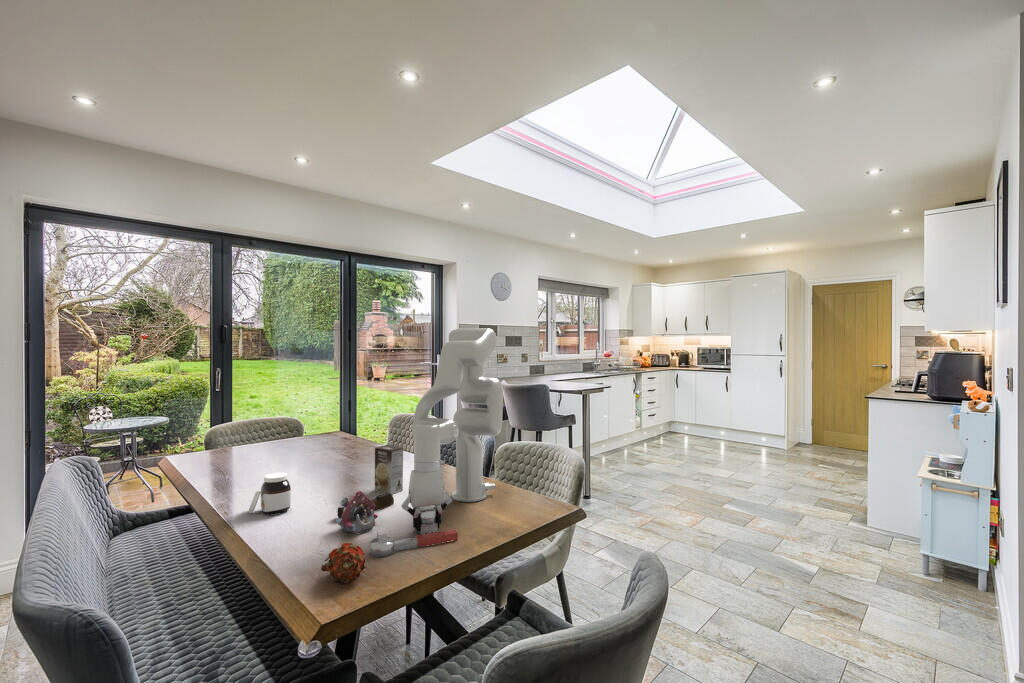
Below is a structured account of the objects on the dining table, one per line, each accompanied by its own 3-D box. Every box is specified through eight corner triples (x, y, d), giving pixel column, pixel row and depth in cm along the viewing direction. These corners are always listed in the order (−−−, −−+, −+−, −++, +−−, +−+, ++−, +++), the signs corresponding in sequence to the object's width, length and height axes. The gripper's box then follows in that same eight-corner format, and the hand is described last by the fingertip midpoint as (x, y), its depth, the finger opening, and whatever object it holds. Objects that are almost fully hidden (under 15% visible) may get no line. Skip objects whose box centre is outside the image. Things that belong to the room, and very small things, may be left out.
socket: (433, 525, 135) (433, 505, 135) (438, 531, 130) (438, 510, 130) (416, 528, 132) (416, 507, 132) (420, 534, 128) (420, 513, 128)
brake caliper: (356, 531, 124) (340, 492, 128) (337, 548, 129) (323, 509, 133) (389, 519, 133) (374, 482, 138) (370, 534, 138) (356, 499, 143)
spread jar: (294, 511, 146) (294, 475, 146) (255, 521, 138) (256, 483, 138) (280, 503, 154) (280, 469, 154) (243, 512, 146) (243, 475, 146)
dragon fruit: (355, 598, 98) (332, 586, 107) (382, 563, 104) (358, 554, 112) (330, 573, 96) (308, 562, 104) (359, 539, 101) (336, 531, 109)
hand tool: (341, 522, 138) (342, 507, 138) (336, 518, 140) (336, 503, 141) (397, 507, 151) (397, 493, 151) (391, 504, 154) (391, 490, 154)
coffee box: (373, 490, 167) (373, 447, 167) (386, 486, 173) (386, 444, 173) (390, 495, 162) (390, 450, 163) (403, 490, 168) (404, 447, 168)
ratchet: (453, 534, 128) (453, 516, 128) (459, 542, 123) (459, 524, 123) (368, 549, 118) (368, 530, 119) (371, 559, 113) (371, 539, 113)
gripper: (451, 459, 138) (451, 519, 138) (395, 466, 131) (395, 528, 131) (459, 465, 131) (459, 528, 131) (400, 472, 124) (400, 538, 124)
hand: (427, 527), depth 131 cm, fingers closed on socket, 5 cm apart
